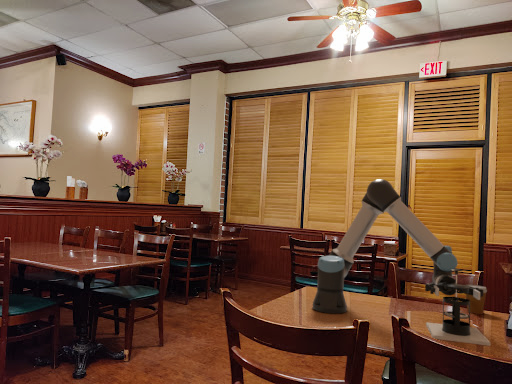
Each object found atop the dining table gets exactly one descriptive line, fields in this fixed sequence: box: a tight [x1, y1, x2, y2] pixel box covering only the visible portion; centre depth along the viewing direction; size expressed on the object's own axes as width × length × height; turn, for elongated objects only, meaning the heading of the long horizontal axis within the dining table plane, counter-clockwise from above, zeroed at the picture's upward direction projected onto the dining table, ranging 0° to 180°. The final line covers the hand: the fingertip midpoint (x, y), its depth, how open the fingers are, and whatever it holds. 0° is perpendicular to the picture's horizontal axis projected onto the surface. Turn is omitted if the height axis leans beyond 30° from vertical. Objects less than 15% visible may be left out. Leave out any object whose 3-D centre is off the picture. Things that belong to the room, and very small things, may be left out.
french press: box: [442, 268, 471, 336], centre depth 143 cm, size 12×9×23 cm
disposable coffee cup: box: [465, 284, 488, 315], centre depth 181 cm, size 10×10×12 cm
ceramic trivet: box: [425, 321, 491, 347], centre depth 143 cm, size 18×18×1 cm
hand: (458, 294), depth 141 cm, fingers open, 13 cm apart
